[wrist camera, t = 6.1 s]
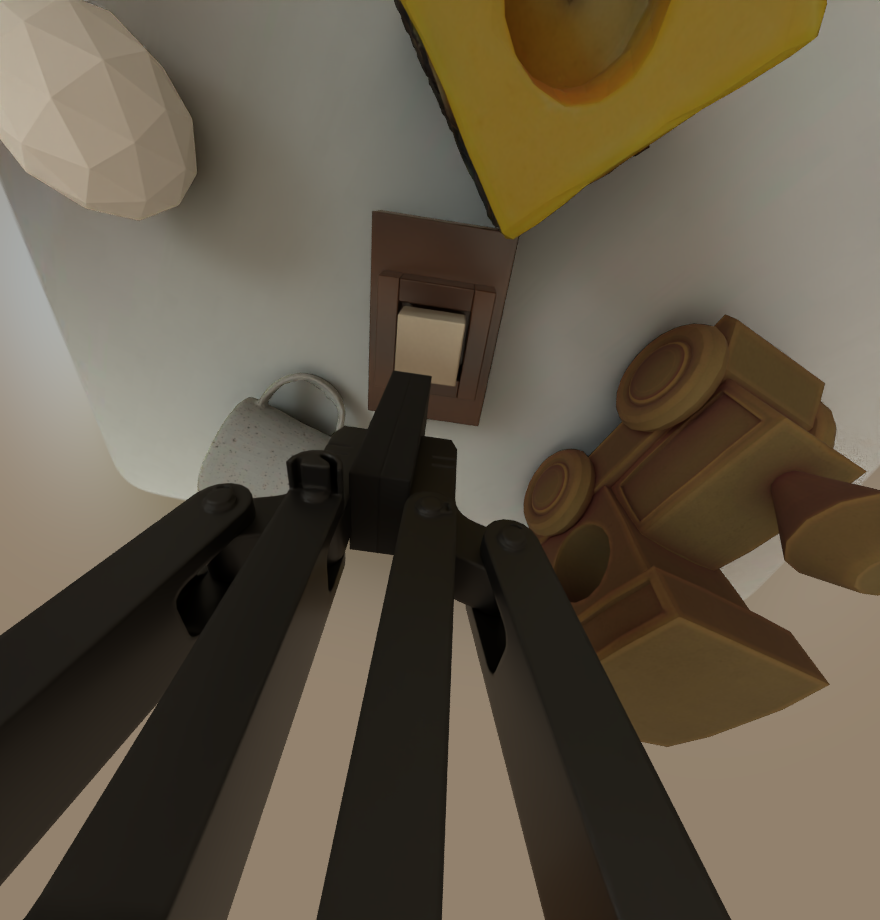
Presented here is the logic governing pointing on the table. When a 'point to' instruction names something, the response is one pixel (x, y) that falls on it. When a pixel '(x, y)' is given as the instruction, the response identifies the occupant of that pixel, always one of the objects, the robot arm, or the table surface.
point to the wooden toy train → (703, 528)
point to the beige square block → (429, 343)
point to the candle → (585, 82)
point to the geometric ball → (91, 109)
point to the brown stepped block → (438, 300)
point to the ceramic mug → (263, 442)
